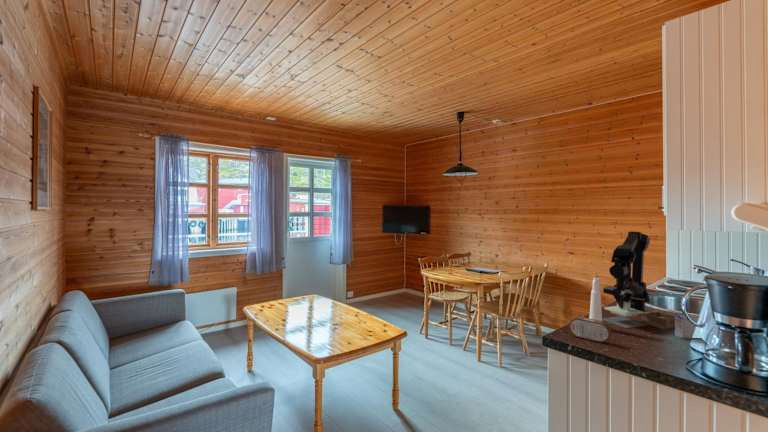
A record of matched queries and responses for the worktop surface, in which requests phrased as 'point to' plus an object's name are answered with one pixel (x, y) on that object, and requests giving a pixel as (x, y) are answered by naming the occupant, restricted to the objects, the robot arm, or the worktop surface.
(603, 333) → the tin
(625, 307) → the lid
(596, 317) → the cosmetic bottle
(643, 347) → the worktop surface
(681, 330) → the medicine box
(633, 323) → the mat
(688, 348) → the worktop surface
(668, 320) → the crate
